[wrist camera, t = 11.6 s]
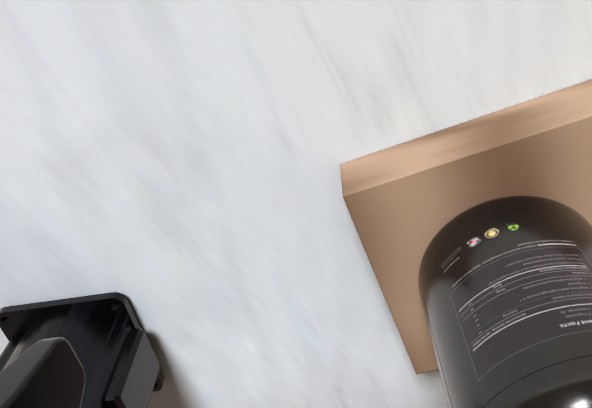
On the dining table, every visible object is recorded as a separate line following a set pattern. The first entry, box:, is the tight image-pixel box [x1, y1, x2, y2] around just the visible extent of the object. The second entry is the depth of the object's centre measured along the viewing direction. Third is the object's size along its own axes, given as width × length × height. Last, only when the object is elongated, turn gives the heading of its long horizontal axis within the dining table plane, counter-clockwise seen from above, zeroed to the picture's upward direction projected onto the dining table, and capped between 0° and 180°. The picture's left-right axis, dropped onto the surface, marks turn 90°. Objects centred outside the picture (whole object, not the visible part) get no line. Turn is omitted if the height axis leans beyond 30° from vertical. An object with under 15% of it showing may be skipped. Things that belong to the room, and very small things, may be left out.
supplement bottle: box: [418, 196, 592, 408], centre depth 16 cm, size 7×7×12 cm
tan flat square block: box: [340, 80, 592, 374], centre depth 22 cm, size 10×10×2 cm
